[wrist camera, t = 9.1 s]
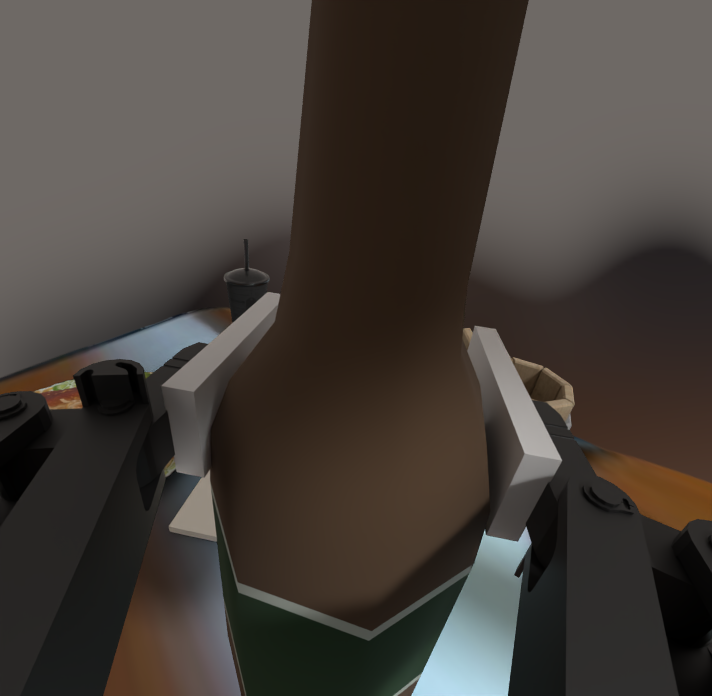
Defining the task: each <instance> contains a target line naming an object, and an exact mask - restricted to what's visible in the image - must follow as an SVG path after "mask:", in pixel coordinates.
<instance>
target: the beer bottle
mask: <svg viewBox="0 0 712 696" xmlns="http://www.w3.org/2000/svg"><path fill="white" fill-rule="evenodd" d="M528 1H529V0H312V6H311V17H310V28H309V39H308V51H307V61H306V73H305V85H304V95H303V106H302V117H301V128H300V139H299V151H298V162H297V173H296V184H295V195H294V206H293V217H292V230H291V240H290V251H289V256H288V261H287V266H286V270H285V275H284V280H283V285H282V289H281V294H280V299H279V303H278V308H277V313H276V318H275V322H274V323H273V324H272V326H271V327H270V328H269V330H268V331H267V332H266V333H265V335H264V336H263V337H262V339H261V340H260V341H259V343H258V344H257V345H256V346H255V348H254V349H253V350H252V352H251V353H250V354H249V355H248V357H247V358H246V359H245V361H244V362H243V363H242V364H241V366H240V367H239V368H238V370H237V371H236V372H235V373H234V375H233V376H232V377H231V379H230V380H229V382H228V385H227V388H226V390H225V393H224V395H223V398H222V401H221V403H220V406H219V408H218V411H217V414H216V416H215V419H214V421H213V424H212V427H211V431H210V432H211V469H210V484H211V493H212V502H213V510H214V519H215V527H216V536H217V545H218V553H219V562H220V571H221V579H222V588H223V597H224V605H225V614H226V622H227V631H228V637H229V642H230V646H231V651H232V655H233V660H234V664H235V669H236V673H237V678H238V682H239V687H240V691H241V696H411V695H412V693H413V691H414V689H415V686H416V684H417V682H418V680H419V678H420V676H421V674H422V672H423V670H424V667H425V665H426V663H427V661H428V659H429V657H430V655H431V653H432V651H433V649H434V646H435V644H436V642H437V640H438V638H439V636H440V634H441V632H442V630H443V627H444V625H445V623H446V621H447V619H448V617H449V615H450V613H451V611H452V609H453V606H454V604H455V602H456V600H457V598H458V596H459V594H460V592H461V590H462V587H463V585H464V583H465V581H466V579H467V577H468V575H469V573H470V571H471V568H472V566H473V564H474V561H475V558H476V555H477V552H478V549H479V546H480V543H481V540H482V536H483V533H484V530H485V527H486V524H487V521H488V518H489V515H490V494H489V476H488V458H487V443H486V434H485V425H484V415H483V406H482V397H481V387H480V383H479V380H478V378H477V375H476V372H475V370H474V367H473V365H472V362H471V359H470V357H469V354H468V352H467V349H466V346H465V344H464V341H463V339H462V337H463V326H464V316H465V305H466V296H467V285H468V280H469V276H470V271H471V266H472V262H473V257H474V252H475V248H476V242H477V239H478V234H479V229H480V224H481V220H482V215H483V211H484V206H485V201H486V197H487V192H488V187H489V183H490V178H491V173H492V168H493V164H494V159H495V155H496V149H497V145H498V141H499V136H500V131H501V127H502V122H503V117H504V113H505V108H506V103H507V98H508V94H509V89H510V84H511V80H512V75H513V71H514V66H515V61H516V56H517V52H518V47H519V43H520V38H521V33H522V29H523V24H524V19H525V14H526V10H527V5H528Z"/></svg>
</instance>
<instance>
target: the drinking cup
mask: <svg viewBox="0 0 712 696" xmlns="http://www.w3.org/2000/svg"><path fill="white" fill-rule="evenodd" d="M244 258H245V268H240V269H236V270H234V271H230V272H228V273H226V274H225V275H224V280H225V281H226V283H227V290H228V297H229V303H230V309H231V316H232V322H234V321H235V320H237V319H238V318H239V317H240V316H241V315H242V314H243V313H245V312H246V311H247V310H248V309H249V308H250V307H251V306H252V305H254V304H255V303H256V302H257V301H258V300H259V299H260V298H262V297H263V296H264V295H265V294H266V293H267V283H268V282H269V276H268V275H267V274H265V273H263V272H260V271H258V270H255V269H251V268H249V261H248V259H249V257H248V240H247V239H244Z"/></svg>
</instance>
